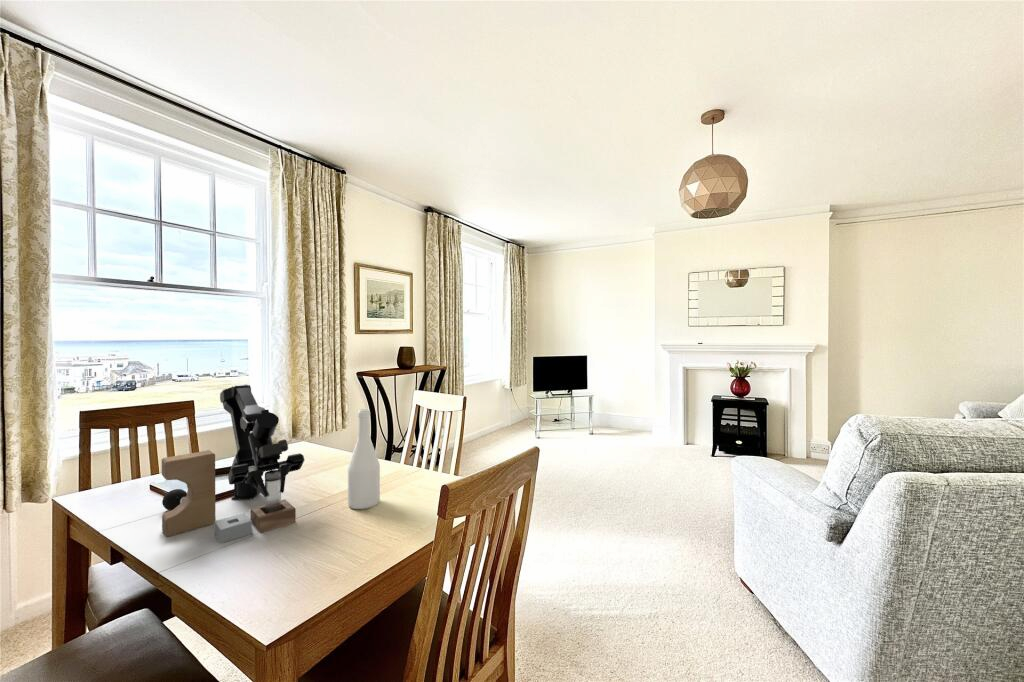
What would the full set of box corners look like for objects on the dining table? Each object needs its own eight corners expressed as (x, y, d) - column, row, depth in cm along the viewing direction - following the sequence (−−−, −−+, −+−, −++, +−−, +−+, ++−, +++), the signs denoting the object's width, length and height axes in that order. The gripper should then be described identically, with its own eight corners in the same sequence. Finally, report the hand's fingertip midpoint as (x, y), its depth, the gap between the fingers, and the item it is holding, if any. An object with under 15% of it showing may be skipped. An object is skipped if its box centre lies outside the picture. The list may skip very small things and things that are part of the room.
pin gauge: (262, 520, 117) (262, 474, 116) (268, 514, 121) (268, 470, 120) (277, 520, 117) (277, 474, 117) (283, 514, 121) (283, 469, 121)
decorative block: (165, 538, 109) (164, 462, 109) (161, 530, 113) (161, 457, 113) (216, 524, 117) (215, 453, 117) (211, 517, 121) (210, 449, 121)
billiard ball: (173, 514, 123) (173, 494, 123) (157, 512, 125) (157, 492, 125) (193, 506, 129) (192, 487, 129) (177, 504, 131) (177, 485, 130)
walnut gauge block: (250, 522, 119) (250, 508, 119) (284, 512, 125) (284, 499, 125) (259, 532, 112) (259, 518, 112) (295, 522, 119) (295, 508, 119)
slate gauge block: (214, 533, 112) (214, 521, 112) (244, 525, 117) (244, 513, 117) (220, 543, 107) (220, 529, 107) (251, 533, 112) (251, 520, 112)
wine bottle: (355, 497, 137) (355, 406, 136) (383, 498, 136) (384, 407, 136) (342, 510, 127) (342, 412, 127) (373, 510, 127) (373, 412, 126)
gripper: (230, 437, 114) (241, 488, 107) (302, 427, 128) (316, 471, 120) (223, 459, 120) (233, 509, 113) (293, 447, 133) (306, 490, 126)
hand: (274, 494), depth 118 cm, fingers closed on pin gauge, 4 cm apart
